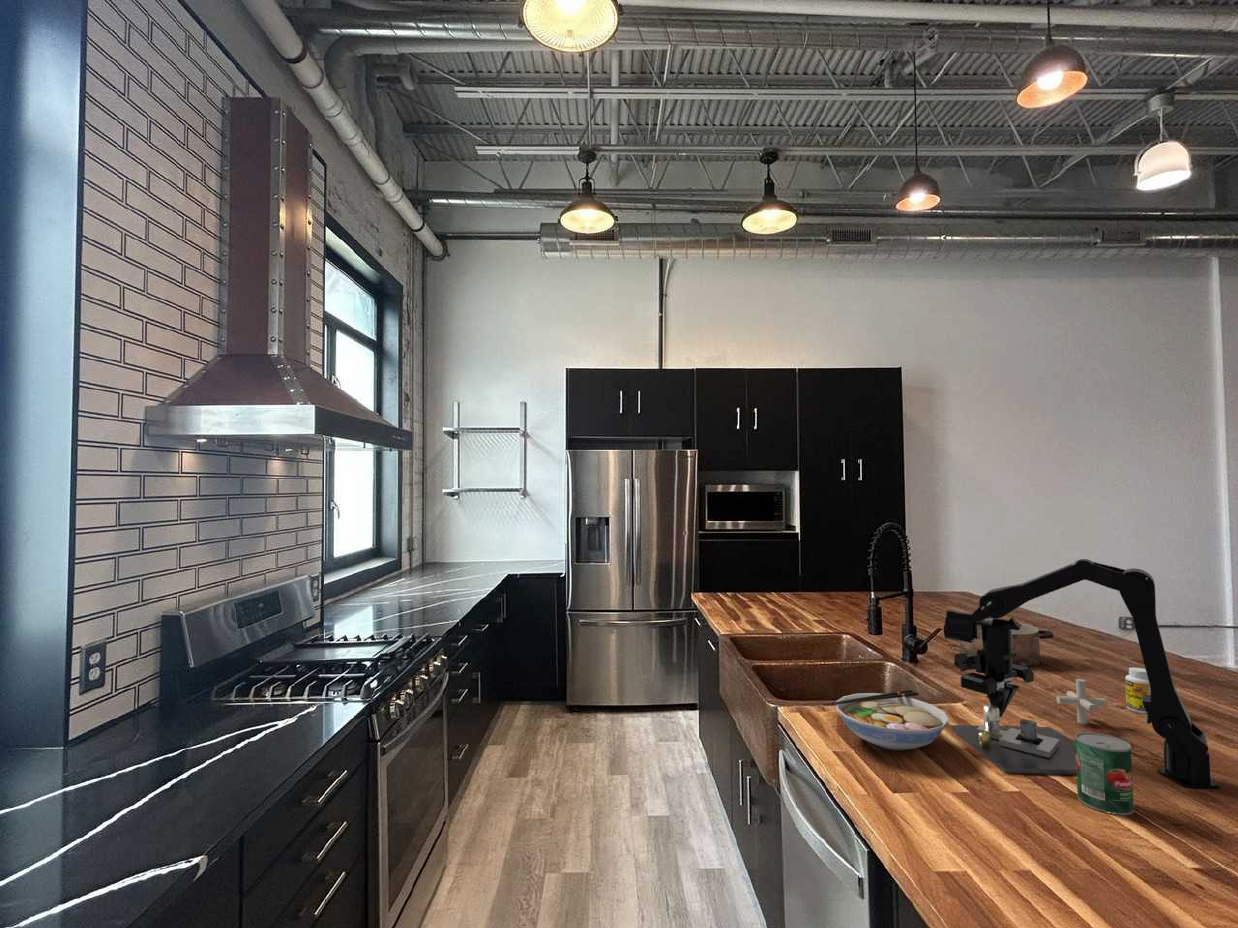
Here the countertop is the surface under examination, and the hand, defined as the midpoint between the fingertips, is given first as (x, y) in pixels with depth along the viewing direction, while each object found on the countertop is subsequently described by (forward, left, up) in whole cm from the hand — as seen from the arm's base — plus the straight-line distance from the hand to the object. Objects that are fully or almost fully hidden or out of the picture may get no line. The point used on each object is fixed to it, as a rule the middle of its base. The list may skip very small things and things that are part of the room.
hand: (998, 716), depth 136 cm
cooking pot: (+67, -36, -5) cm, 76 cm away
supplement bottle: (+19, -45, -5) cm, 49 cm away
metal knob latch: (-5, -1, -3) cm, 6 cm away
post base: (-7, -3, -5) cm, 9 cm away
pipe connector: (+10, -25, -5) cm, 27 cm away
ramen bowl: (-5, +25, -5) cm, 26 cm away
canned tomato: (-29, -3, -5) cm, 29 cm away
